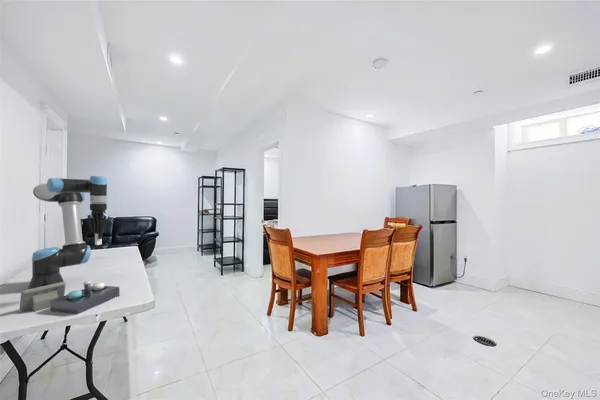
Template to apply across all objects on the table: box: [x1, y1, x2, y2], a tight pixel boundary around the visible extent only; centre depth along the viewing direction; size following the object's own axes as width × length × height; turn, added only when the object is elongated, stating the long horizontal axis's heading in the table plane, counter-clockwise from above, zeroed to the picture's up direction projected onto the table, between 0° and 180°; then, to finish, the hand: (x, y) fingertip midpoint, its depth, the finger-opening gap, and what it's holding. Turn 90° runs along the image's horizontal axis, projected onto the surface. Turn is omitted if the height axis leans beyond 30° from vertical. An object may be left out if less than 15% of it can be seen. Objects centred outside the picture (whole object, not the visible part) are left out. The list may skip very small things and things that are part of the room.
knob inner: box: [92, 281, 105, 292], centre depth 136 cm, size 5×5×7 cm
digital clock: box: [19, 281, 66, 313], centre depth 126 cm, size 16×9×11 cm, turn 137°
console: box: [50, 285, 120, 315], centre depth 130 cm, size 16×22×5 cm
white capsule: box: [83, 280, 92, 294], centre depth 130 cm, size 3×3×6 cm
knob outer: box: [67, 289, 82, 301], centre depth 124 cm, size 5×5×7 cm
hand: (98, 244), depth 143 cm, fingers closed
